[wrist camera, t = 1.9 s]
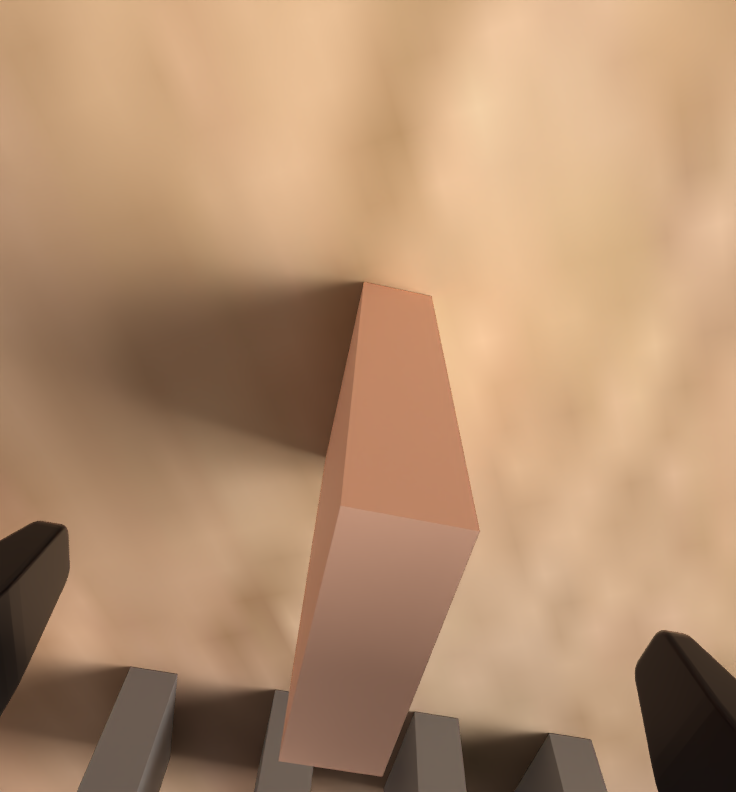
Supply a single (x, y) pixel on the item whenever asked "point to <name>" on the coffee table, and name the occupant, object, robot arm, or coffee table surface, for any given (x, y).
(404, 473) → the domino
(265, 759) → the domino
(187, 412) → the coffee table surface
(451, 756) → the domino
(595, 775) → the domino
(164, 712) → the domino
